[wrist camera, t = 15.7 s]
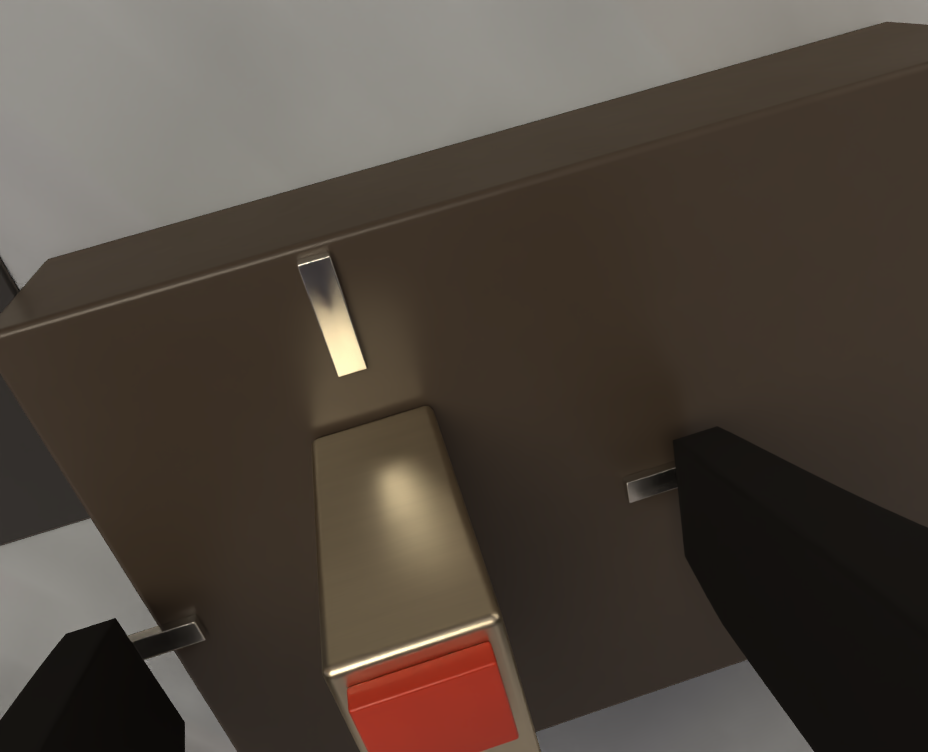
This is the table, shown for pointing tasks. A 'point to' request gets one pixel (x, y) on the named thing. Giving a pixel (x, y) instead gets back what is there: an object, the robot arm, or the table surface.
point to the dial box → (504, 367)
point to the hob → (28, 466)
